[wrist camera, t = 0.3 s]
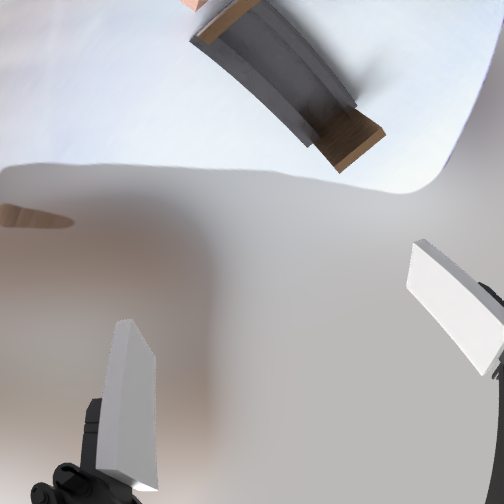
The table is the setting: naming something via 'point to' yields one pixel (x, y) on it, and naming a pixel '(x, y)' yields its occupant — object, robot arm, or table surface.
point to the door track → (288, 79)
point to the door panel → (194, 3)
